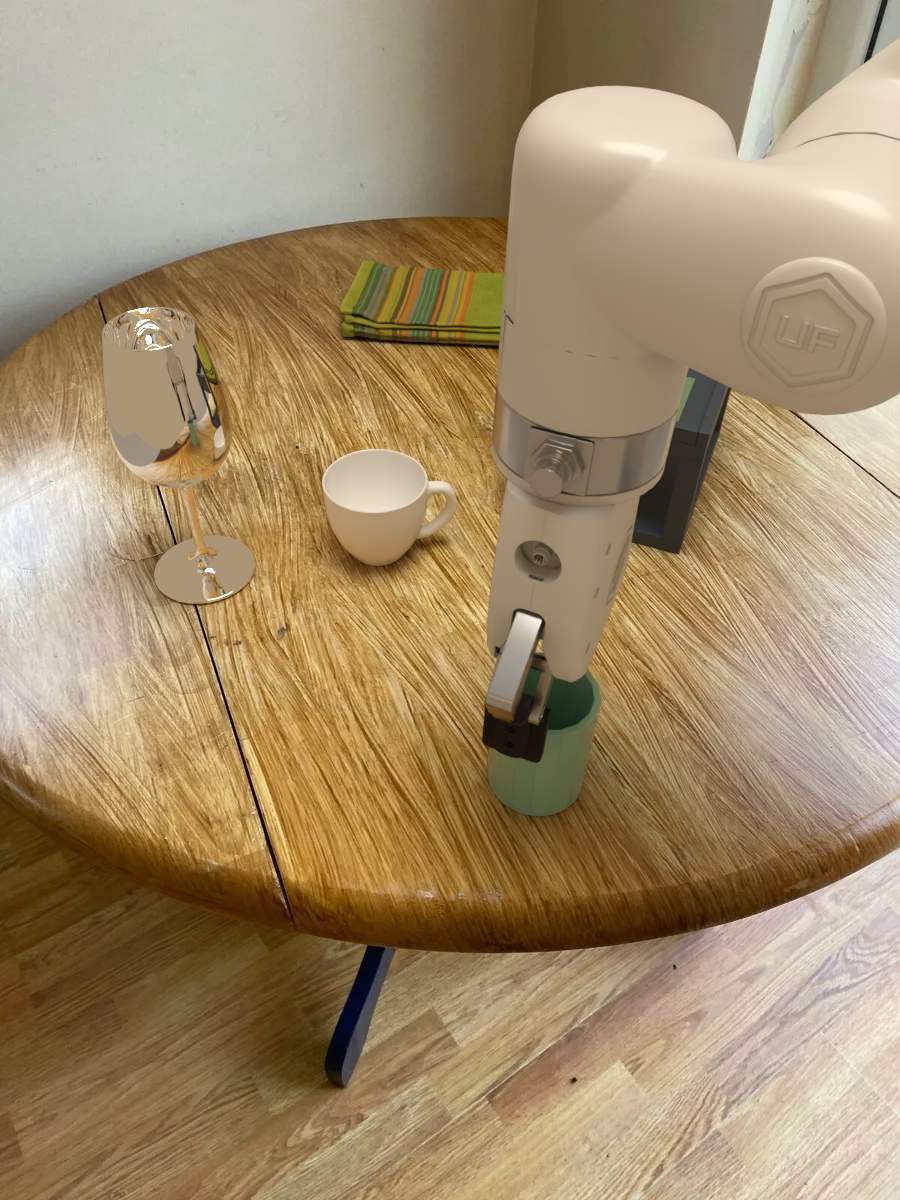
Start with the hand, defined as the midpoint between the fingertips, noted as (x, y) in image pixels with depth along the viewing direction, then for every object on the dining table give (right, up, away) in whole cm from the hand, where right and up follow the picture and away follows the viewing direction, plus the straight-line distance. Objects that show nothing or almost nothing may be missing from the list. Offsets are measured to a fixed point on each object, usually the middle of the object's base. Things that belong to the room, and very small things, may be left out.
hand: (541, 684), depth 50 cm
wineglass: (-24, +7, +19) cm, 31 cm away
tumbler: (0, -6, +6) cm, 9 cm away
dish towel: (+2, +36, +49) cm, 60 cm away
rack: (+10, +16, +28) cm, 34 cm away
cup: (-10, +9, +21) cm, 25 cm away
